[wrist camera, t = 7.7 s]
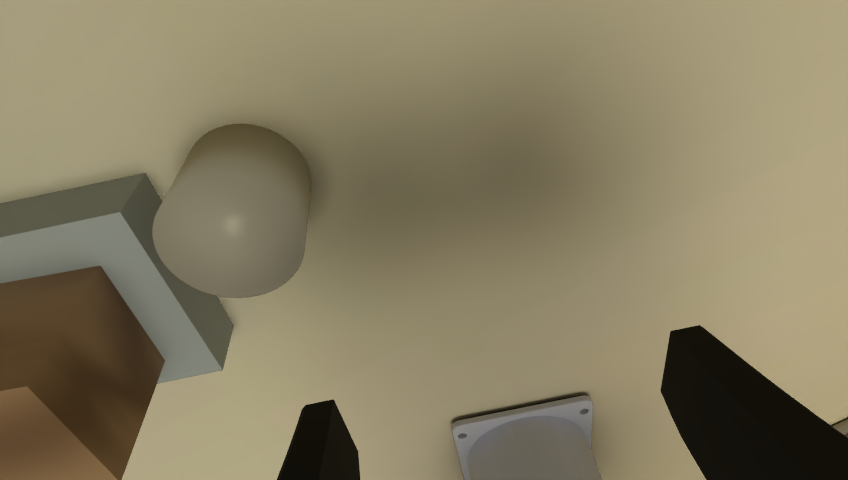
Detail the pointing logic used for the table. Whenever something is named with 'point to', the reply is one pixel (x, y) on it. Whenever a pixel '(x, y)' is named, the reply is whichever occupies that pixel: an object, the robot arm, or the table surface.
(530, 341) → the table surface
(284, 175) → the grey rounded lump
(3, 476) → the walnut cube
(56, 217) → the slate plinth
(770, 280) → the table surface
